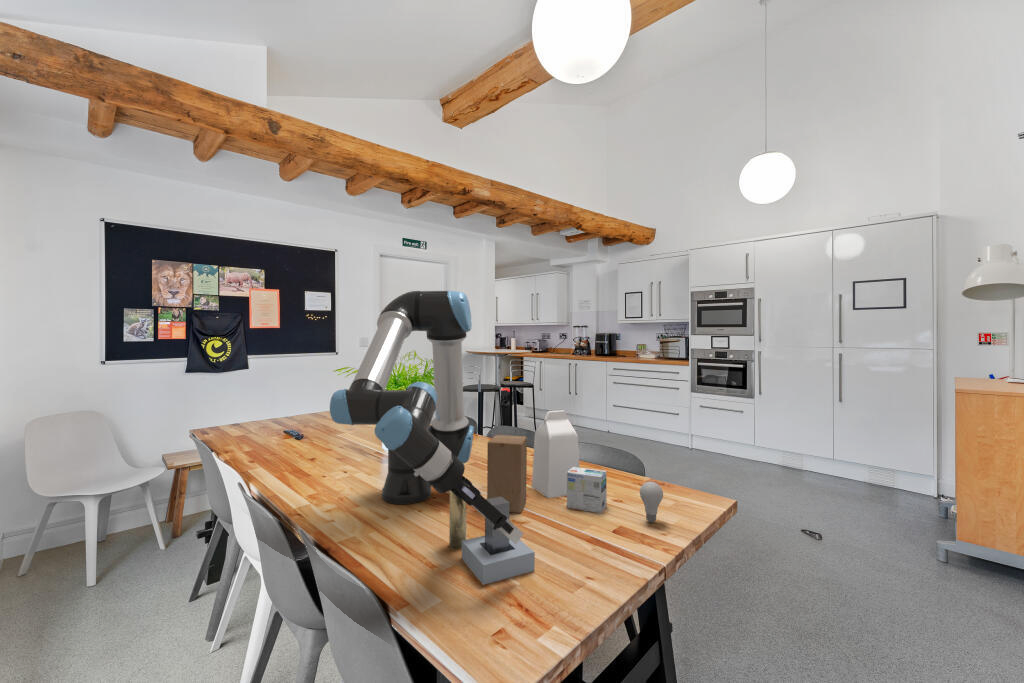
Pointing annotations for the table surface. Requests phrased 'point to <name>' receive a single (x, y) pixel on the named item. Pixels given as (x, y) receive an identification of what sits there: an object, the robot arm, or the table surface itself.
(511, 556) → the jig
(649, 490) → the lightbulb
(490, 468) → the wooden block
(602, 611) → the table surface
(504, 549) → the square bit
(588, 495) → the light bulb box
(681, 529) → the table surface
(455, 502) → the cylinder
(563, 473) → the milk
